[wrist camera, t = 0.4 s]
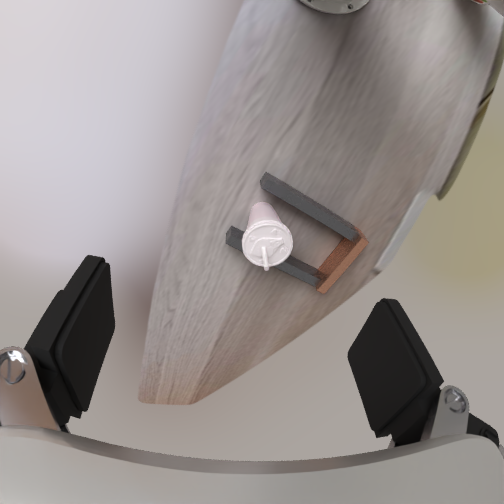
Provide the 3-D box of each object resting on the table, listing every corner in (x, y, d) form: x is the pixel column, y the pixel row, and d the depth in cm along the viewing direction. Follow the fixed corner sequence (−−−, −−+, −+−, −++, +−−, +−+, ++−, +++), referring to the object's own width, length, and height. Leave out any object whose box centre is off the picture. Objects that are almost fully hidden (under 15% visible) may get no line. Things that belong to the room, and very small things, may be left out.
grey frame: (266, 171, 42) (268, 180, 38) (360, 230, 47) (368, 242, 44) (226, 233, 47) (225, 247, 43) (319, 279, 53) (324, 294, 49)
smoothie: (233, 203, 44) (232, 255, 32) (273, 186, 43) (287, 232, 31) (251, 237, 47) (256, 296, 36) (289, 222, 46) (307, 277, 34)
